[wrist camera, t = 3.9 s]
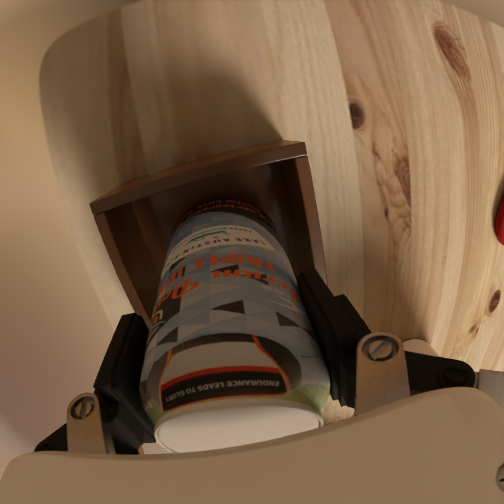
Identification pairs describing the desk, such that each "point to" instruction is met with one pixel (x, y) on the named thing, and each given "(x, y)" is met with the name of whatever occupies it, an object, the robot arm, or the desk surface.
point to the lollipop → (500, 223)
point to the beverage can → (230, 336)
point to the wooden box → (202, 189)
